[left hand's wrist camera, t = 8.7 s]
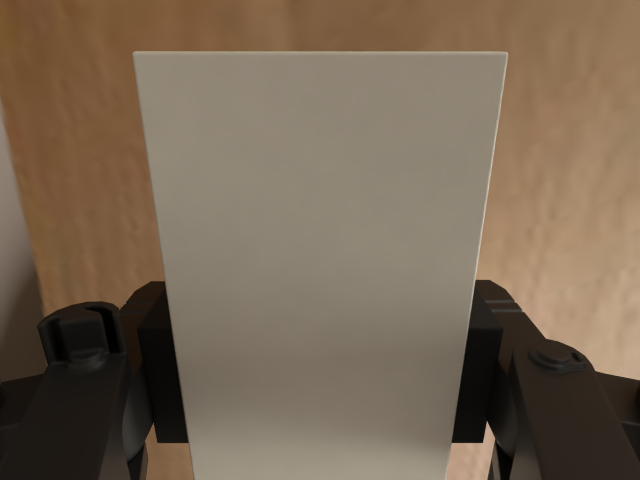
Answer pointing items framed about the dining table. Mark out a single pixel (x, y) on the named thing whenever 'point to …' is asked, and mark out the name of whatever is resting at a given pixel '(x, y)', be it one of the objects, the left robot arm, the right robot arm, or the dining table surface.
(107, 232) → the dining table surface
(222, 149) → the beam
